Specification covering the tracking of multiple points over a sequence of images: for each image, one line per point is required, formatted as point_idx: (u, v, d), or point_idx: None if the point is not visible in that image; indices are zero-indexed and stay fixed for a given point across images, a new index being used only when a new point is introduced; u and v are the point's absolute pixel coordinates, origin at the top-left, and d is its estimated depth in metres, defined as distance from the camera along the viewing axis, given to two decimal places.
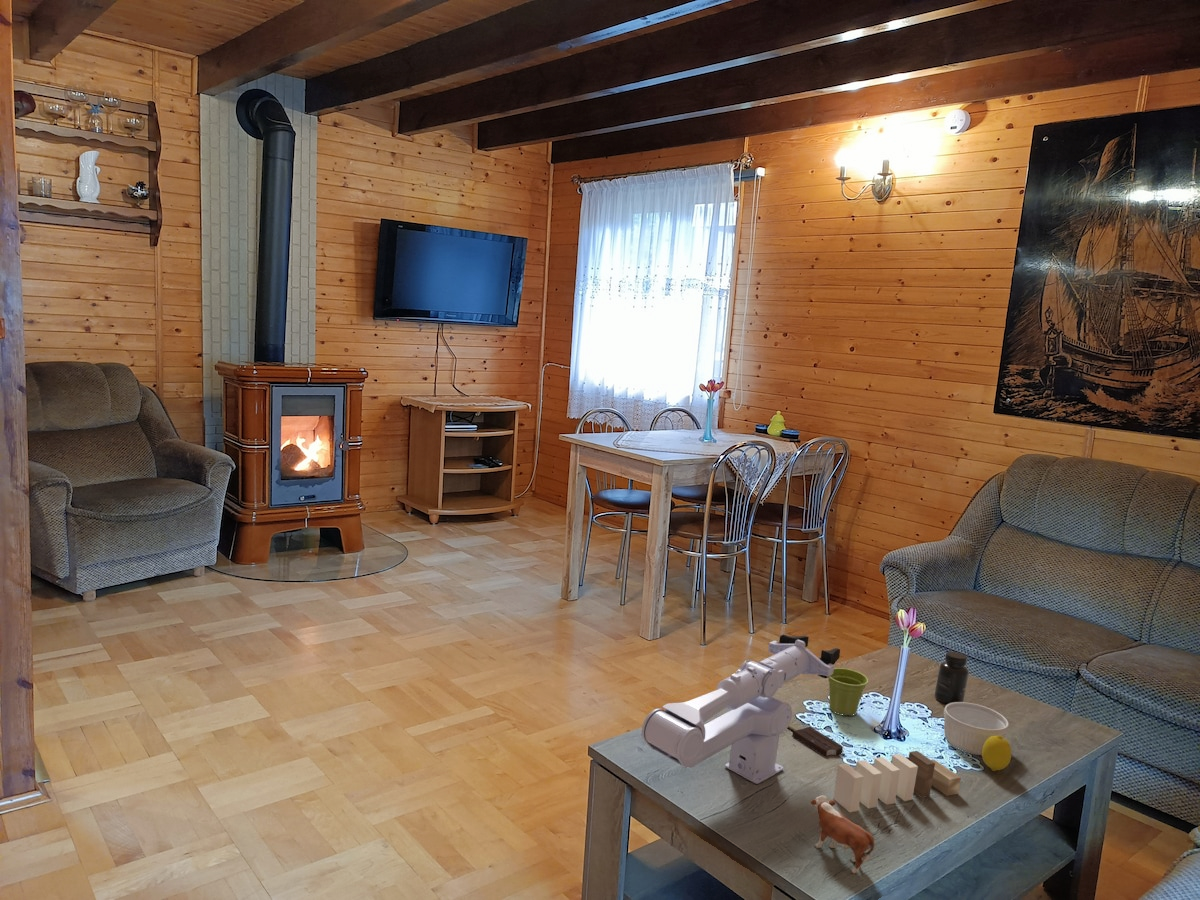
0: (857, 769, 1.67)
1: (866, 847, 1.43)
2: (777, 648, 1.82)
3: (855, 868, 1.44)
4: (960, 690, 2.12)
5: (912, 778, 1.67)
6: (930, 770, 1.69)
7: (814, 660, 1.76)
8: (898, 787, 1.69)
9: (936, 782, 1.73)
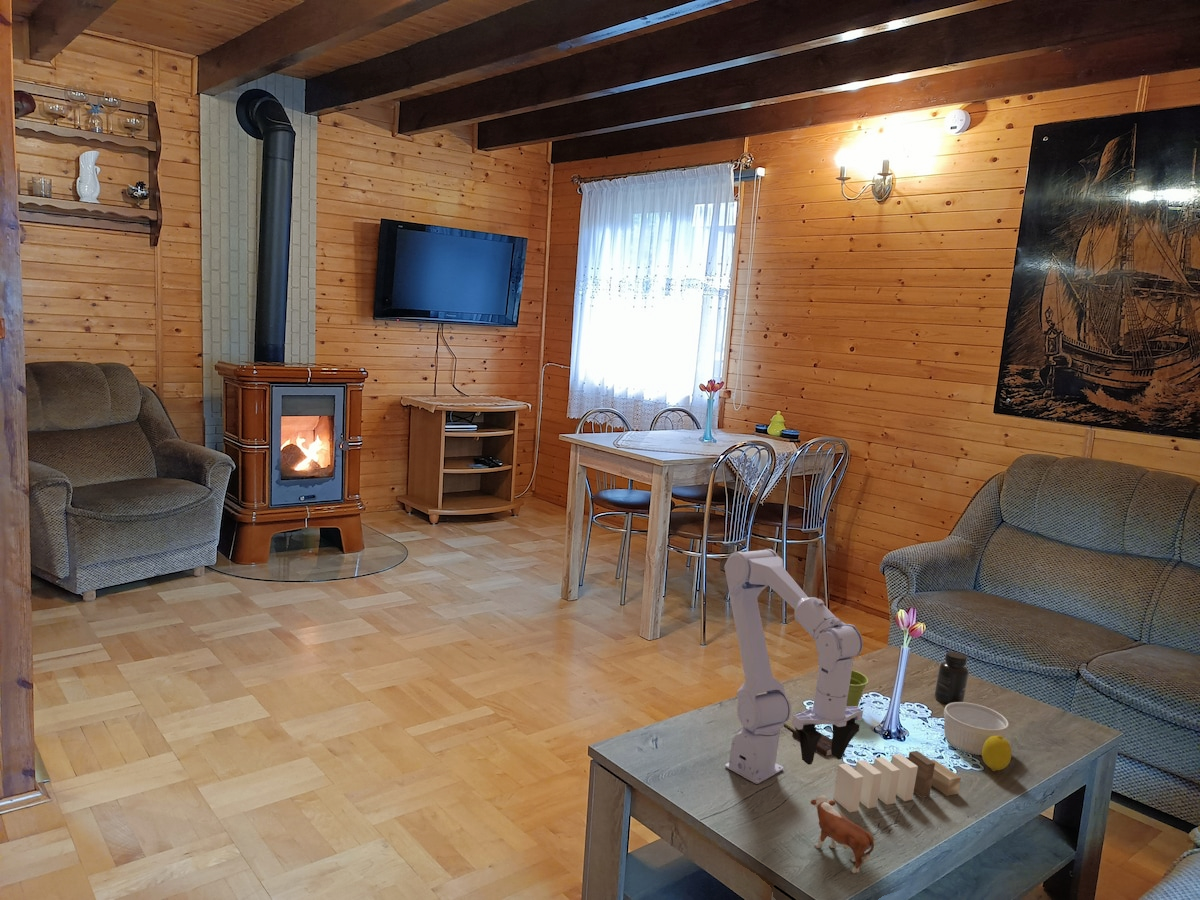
0: (857, 769, 1.67)
1: (866, 847, 1.43)
2: (852, 712, 1.60)
3: (855, 868, 1.44)
4: (960, 690, 2.12)
5: (912, 778, 1.67)
6: (930, 770, 1.69)
7: None
8: (898, 787, 1.69)
9: (936, 782, 1.73)
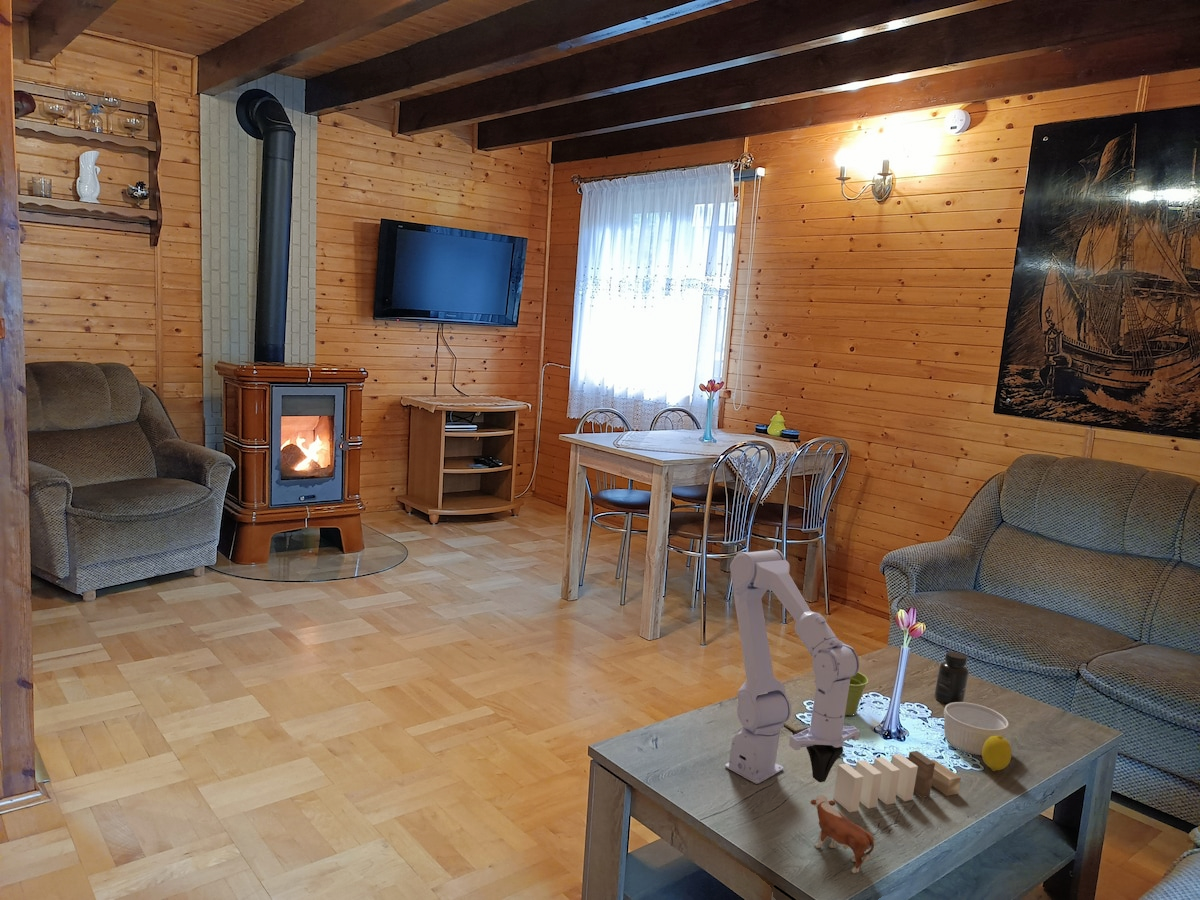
0: (857, 769, 1.67)
1: (866, 847, 1.43)
2: (849, 732, 1.61)
3: (855, 868, 1.44)
4: (960, 690, 2.12)
5: (912, 778, 1.67)
6: (930, 770, 1.69)
7: None
8: (898, 787, 1.69)
9: (936, 782, 1.73)
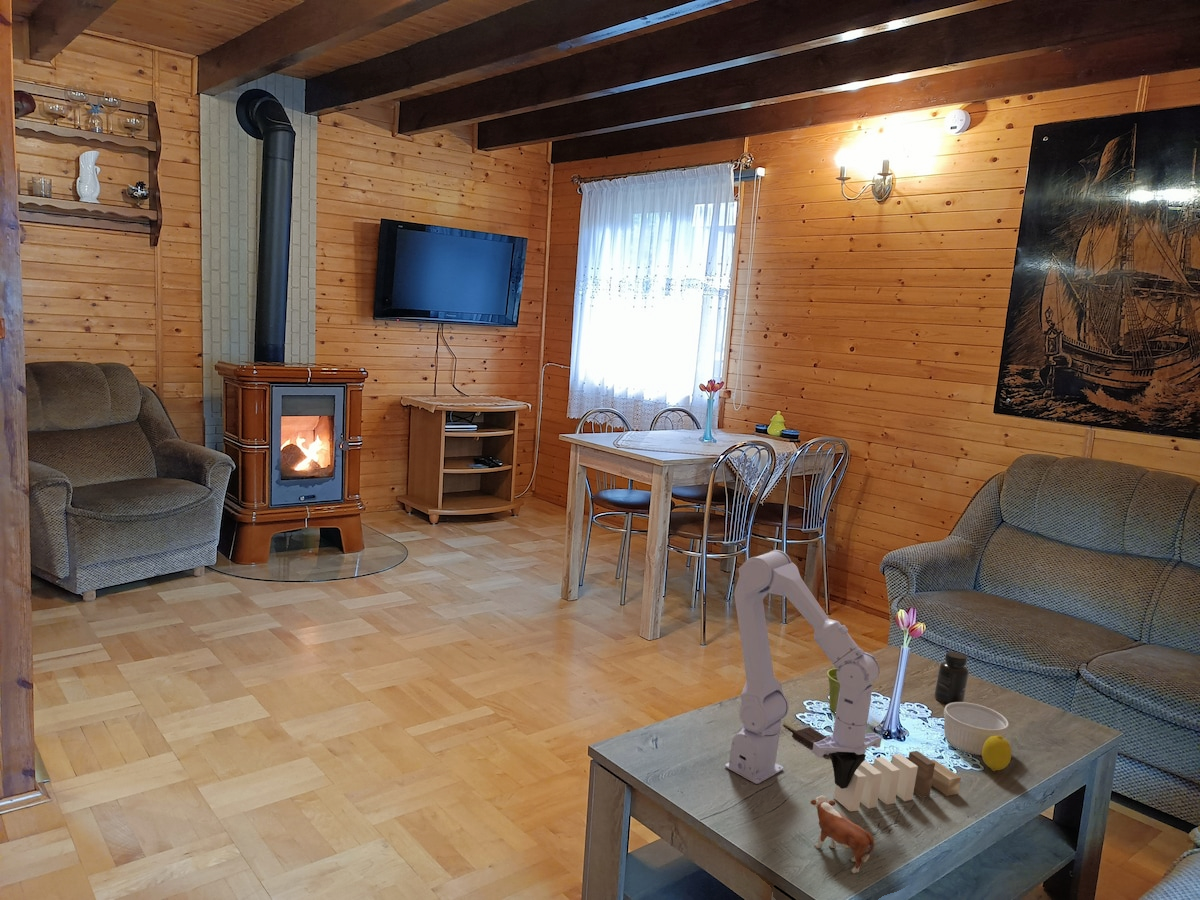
0: None
1: (866, 847, 1.43)
2: (870, 739, 1.63)
3: (855, 868, 1.44)
4: (960, 690, 2.12)
5: (912, 778, 1.67)
6: (930, 770, 1.69)
7: None
8: (898, 787, 1.69)
9: (936, 782, 1.73)
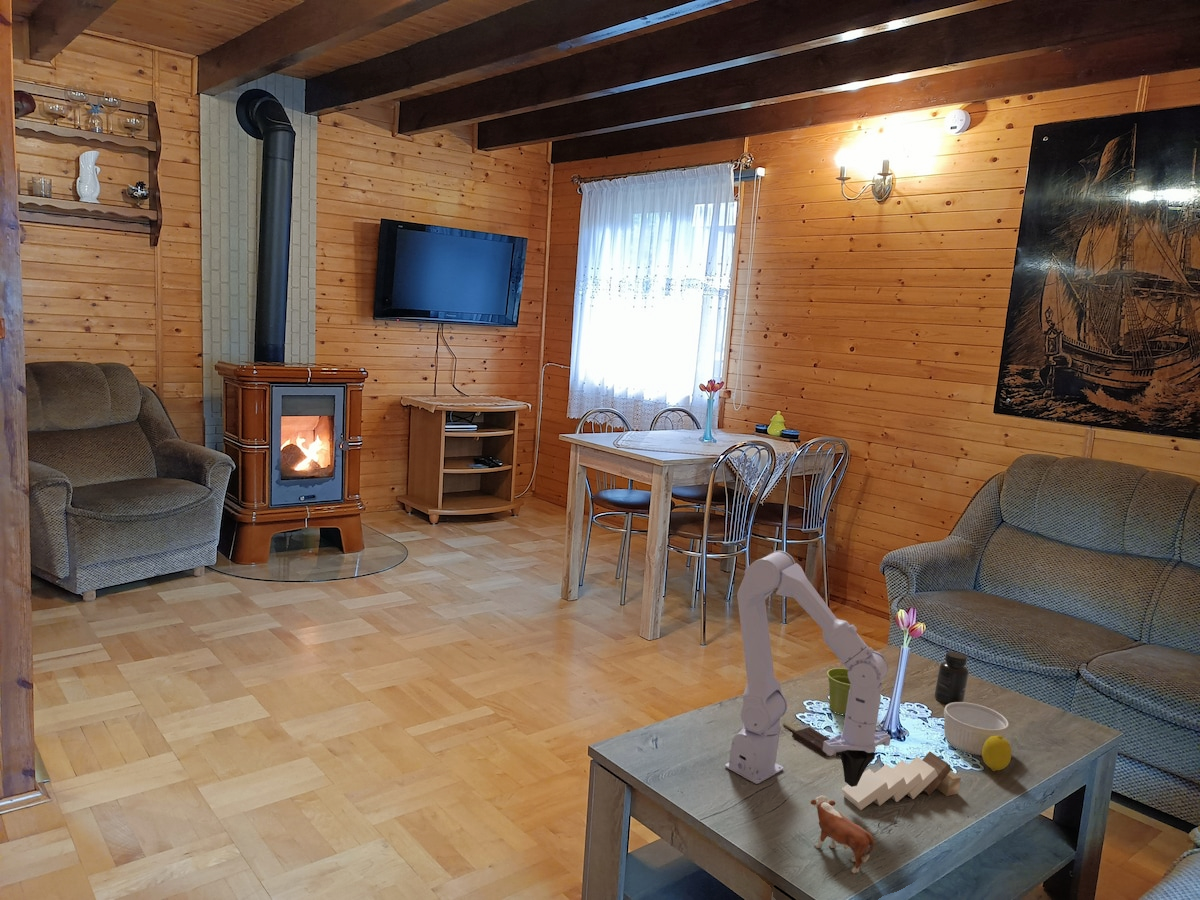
0: (883, 769, 1.70)
1: (866, 847, 1.43)
2: (880, 737, 1.64)
3: (855, 868, 1.44)
4: (960, 690, 2.12)
5: (928, 780, 1.69)
6: (945, 771, 1.71)
7: (846, 746, 1.60)
8: None
9: None
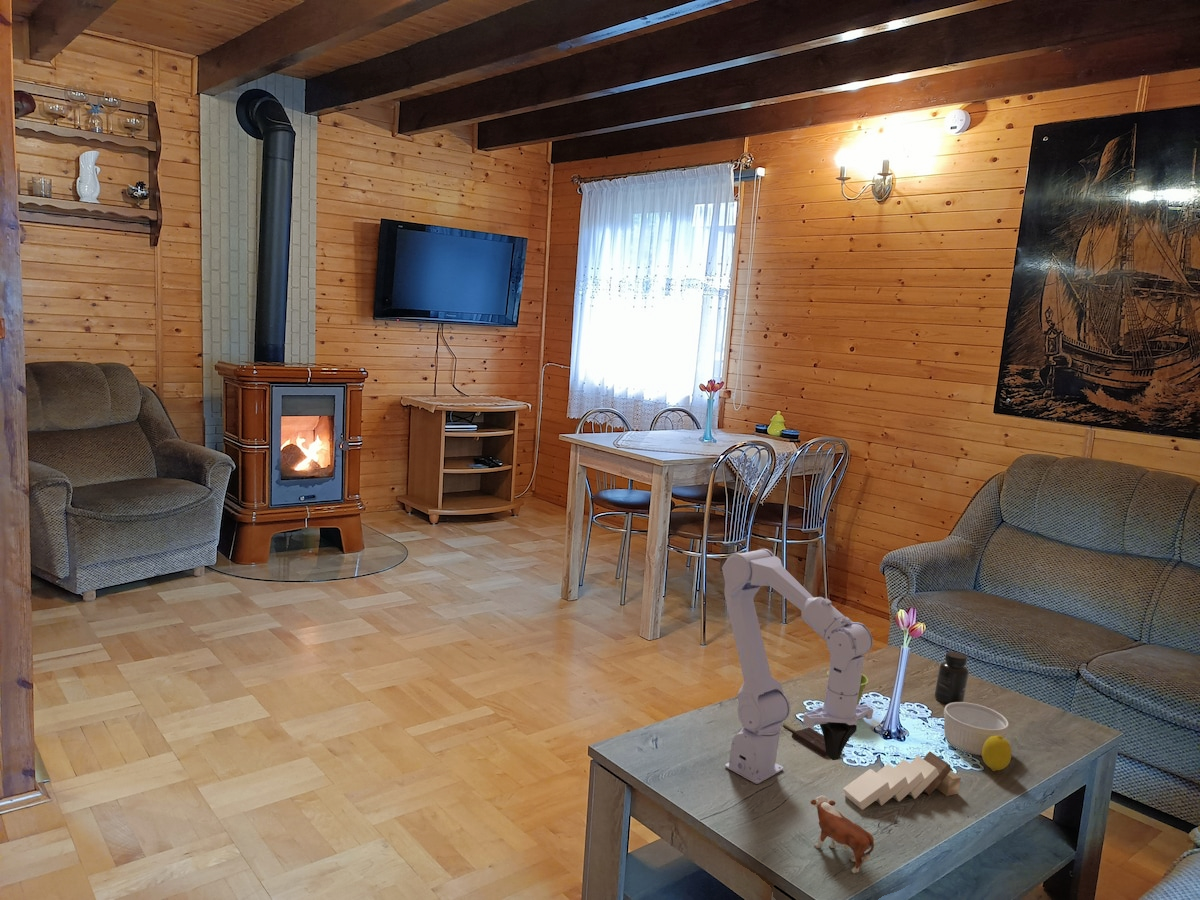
0: (884, 769, 1.70)
1: (866, 847, 1.43)
2: (862, 710, 1.61)
3: (855, 868, 1.44)
4: (960, 690, 2.12)
5: (929, 779, 1.69)
6: (945, 771, 1.71)
7: (827, 718, 1.57)
8: None
9: None
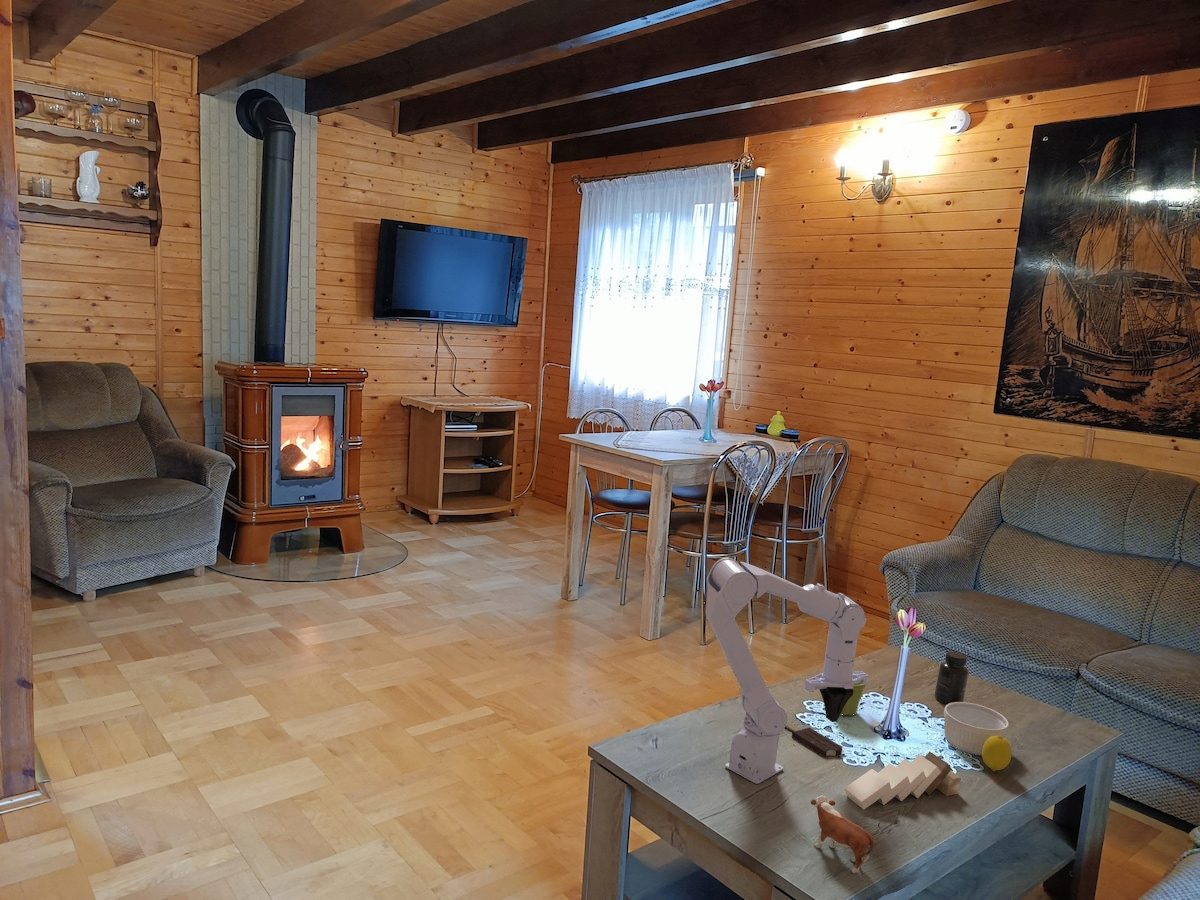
0: (886, 768, 1.70)
1: (866, 847, 1.43)
2: (858, 676, 1.76)
3: (855, 868, 1.44)
4: (960, 690, 2.12)
5: (931, 778, 1.70)
6: (945, 771, 1.71)
7: None
8: None
9: None
